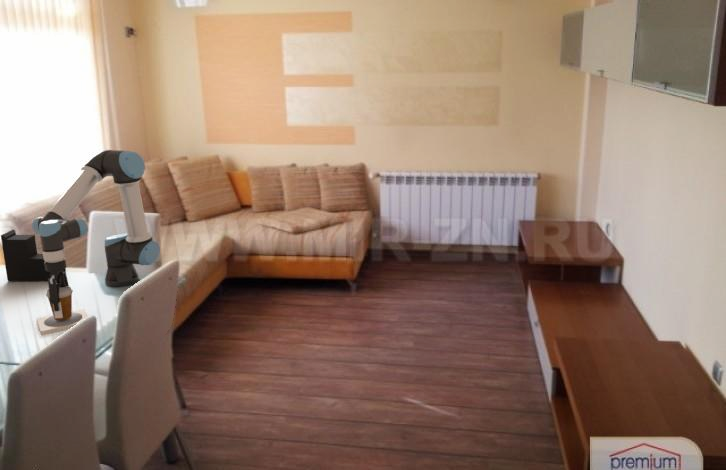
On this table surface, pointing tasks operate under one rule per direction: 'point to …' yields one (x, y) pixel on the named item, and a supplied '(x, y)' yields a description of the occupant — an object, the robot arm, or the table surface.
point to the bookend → (23, 258)
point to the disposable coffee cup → (64, 302)
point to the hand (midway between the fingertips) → (62, 313)
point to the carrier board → (60, 322)
